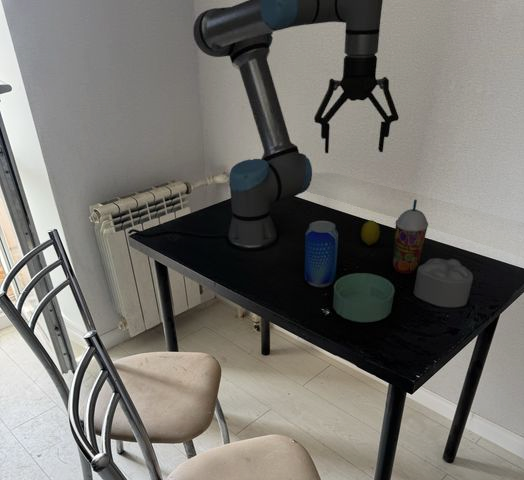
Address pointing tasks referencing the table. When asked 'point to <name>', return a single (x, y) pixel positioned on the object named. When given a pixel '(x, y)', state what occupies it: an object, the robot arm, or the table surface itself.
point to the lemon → (370, 232)
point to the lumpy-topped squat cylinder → (443, 283)
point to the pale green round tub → (363, 297)
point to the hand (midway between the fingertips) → (353, 151)
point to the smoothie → (409, 240)
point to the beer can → (321, 253)
